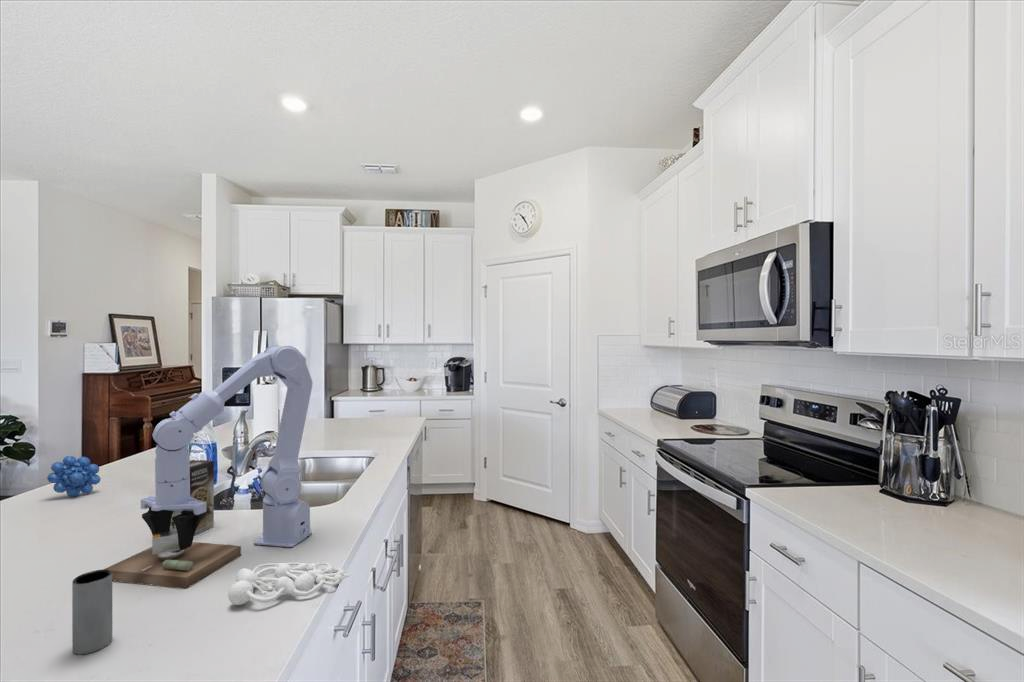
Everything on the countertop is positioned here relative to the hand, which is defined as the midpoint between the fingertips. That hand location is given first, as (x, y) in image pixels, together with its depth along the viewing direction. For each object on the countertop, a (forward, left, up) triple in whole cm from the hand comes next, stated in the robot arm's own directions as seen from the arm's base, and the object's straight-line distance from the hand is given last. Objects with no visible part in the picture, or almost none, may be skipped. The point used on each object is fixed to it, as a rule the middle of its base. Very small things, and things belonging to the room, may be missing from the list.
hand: (173, 546), depth 99 cm
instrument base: (-1, 0, -4) cm, 4 cm away
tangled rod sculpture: (-27, +3, -5) cm, 28 cm away
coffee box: (+11, -16, -4) cm, 20 cm away
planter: (-10, +24, -4) cm, 27 cm away
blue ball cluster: (+64, -33, -4) cm, 72 cm away
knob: (0, 0, -2) cm, 2 cm away
